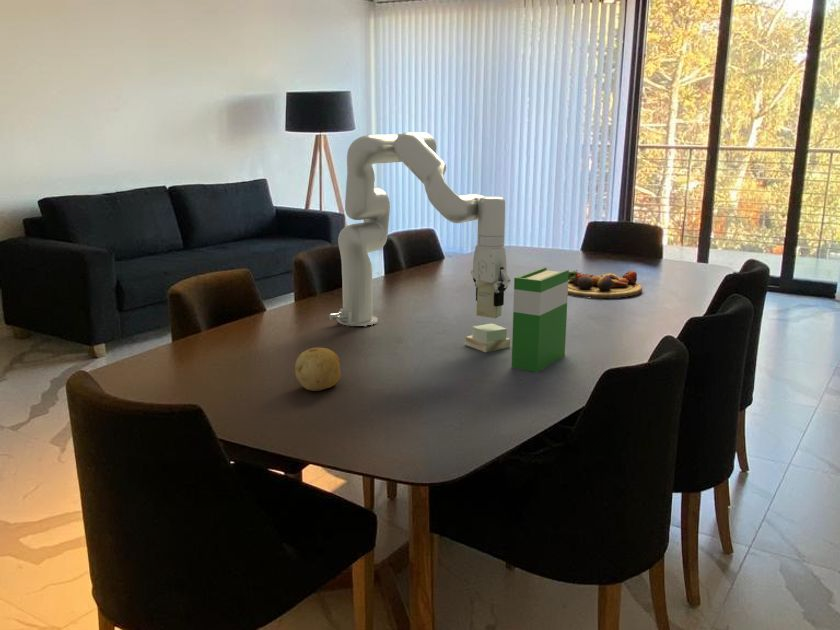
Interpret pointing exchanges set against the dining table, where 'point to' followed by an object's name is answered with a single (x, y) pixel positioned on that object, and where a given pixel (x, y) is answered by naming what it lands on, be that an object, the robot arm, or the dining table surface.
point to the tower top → (489, 332)
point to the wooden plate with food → (603, 285)
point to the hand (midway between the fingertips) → (489, 302)
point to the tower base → (487, 344)
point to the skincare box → (487, 300)
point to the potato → (318, 369)
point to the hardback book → (539, 318)
